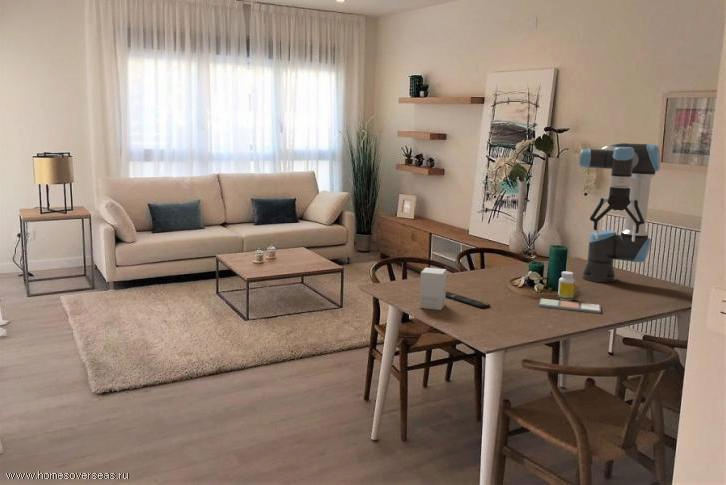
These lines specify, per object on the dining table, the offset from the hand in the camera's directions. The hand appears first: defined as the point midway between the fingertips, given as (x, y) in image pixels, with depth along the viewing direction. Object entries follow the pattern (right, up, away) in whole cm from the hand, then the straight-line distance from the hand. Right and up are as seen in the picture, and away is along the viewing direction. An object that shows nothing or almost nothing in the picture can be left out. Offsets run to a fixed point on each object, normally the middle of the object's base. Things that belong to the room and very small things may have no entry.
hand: (614, 239), depth 255 cm
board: (-16, -27, +7) cm, 32 cm away
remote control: (-58, -26, +12) cm, 65 cm away
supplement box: (-72, -27, +4) cm, 77 cm away
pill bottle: (-14, -25, +18) cm, 34 cm away
